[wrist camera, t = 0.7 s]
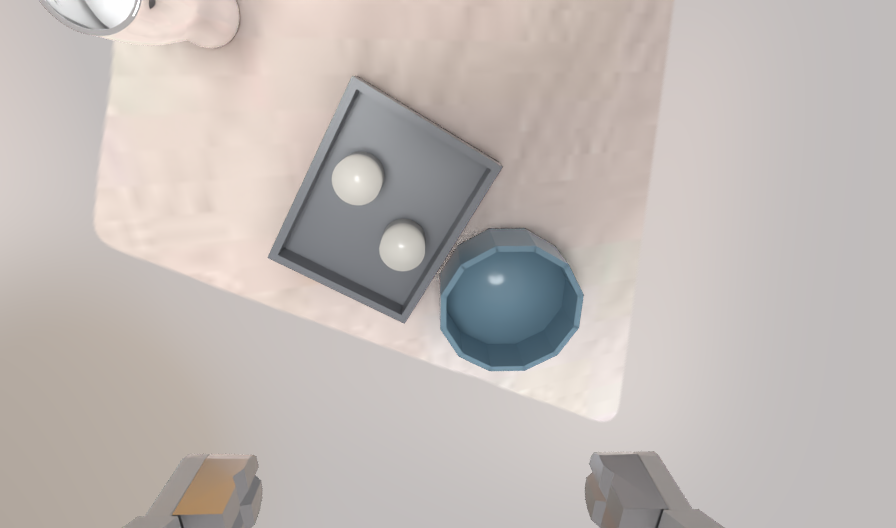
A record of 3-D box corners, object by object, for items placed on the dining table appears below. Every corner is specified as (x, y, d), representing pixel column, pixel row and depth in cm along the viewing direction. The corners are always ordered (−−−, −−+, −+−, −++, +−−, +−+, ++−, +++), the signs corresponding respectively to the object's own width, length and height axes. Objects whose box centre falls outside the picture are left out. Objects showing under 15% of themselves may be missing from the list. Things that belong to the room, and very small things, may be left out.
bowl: (483, 204, 47) (489, 219, 42) (592, 267, 50) (610, 288, 45) (416, 310, 52) (415, 335, 46) (520, 361, 55) (529, 390, 50)
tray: (357, 76, 42) (352, 75, 39) (498, 161, 45) (502, 166, 42) (276, 247, 48) (267, 257, 45) (406, 310, 52) (404, 323, 49)
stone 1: (350, 142, 43) (344, 147, 40) (392, 166, 44) (389, 172, 41) (331, 182, 45) (323, 190, 41) (371, 204, 46) (367, 213, 42)
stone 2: (395, 210, 46) (392, 220, 43) (433, 231, 47) (433, 242, 44) (375, 246, 47) (371, 258, 44) (412, 265, 48) (411, 278, 45)
